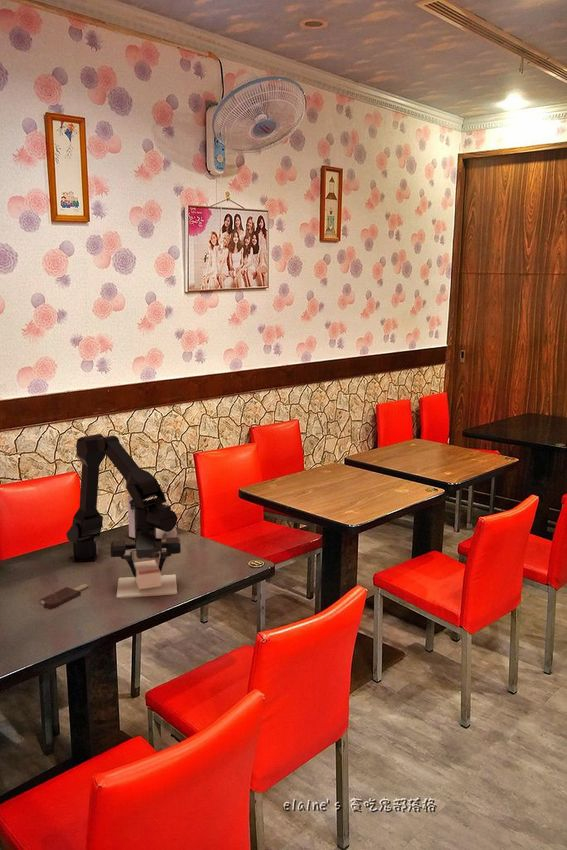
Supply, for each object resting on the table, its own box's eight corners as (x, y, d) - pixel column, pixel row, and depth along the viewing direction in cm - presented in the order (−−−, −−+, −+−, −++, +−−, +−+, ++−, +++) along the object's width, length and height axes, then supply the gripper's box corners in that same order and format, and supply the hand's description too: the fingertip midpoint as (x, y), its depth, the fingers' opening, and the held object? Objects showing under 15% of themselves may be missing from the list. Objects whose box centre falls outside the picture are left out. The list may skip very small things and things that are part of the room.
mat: (116, 598, 190) (116, 596, 189) (118, 579, 201) (118, 577, 201) (177, 594, 192) (177, 592, 192) (175, 576, 204) (175, 574, 204)
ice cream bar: (80, 585, 198) (37, 606, 185) (80, 580, 198) (37, 600, 185) (94, 589, 195) (51, 611, 183) (93, 584, 195) (51, 605, 182)
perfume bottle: (124, 536, 235) (122, 478, 230) (141, 533, 237) (139, 475, 233) (130, 541, 230) (128, 482, 226) (147, 538, 233) (145, 480, 228)
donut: (156, 559, 216) (155, 528, 214) (148, 556, 218) (147, 525, 216) (179, 549, 224) (179, 519, 222) (172, 547, 226) (171, 517, 224)
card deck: (133, 576, 199) (133, 562, 199) (154, 573, 202) (154, 559, 201) (139, 589, 191) (138, 575, 190) (161, 586, 193) (160, 572, 193)
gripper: (108, 534, 183) (110, 590, 187) (180, 531, 187) (181, 586, 190) (110, 520, 194) (112, 573, 197) (179, 517, 197) (180, 569, 201)
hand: (146, 575), depth 196 cm, fingers closed on card deck, 6 cm apart
